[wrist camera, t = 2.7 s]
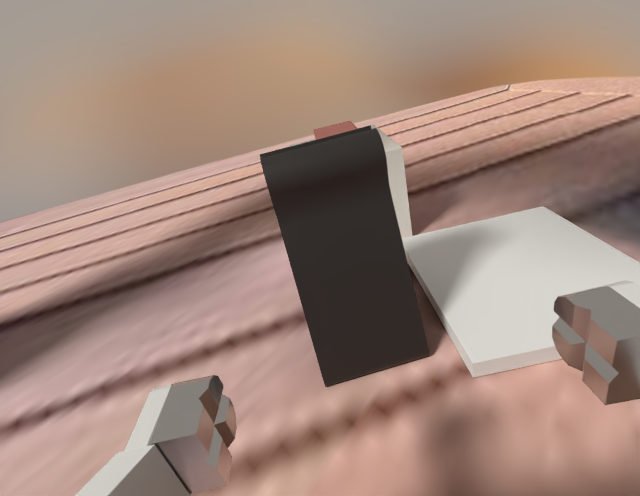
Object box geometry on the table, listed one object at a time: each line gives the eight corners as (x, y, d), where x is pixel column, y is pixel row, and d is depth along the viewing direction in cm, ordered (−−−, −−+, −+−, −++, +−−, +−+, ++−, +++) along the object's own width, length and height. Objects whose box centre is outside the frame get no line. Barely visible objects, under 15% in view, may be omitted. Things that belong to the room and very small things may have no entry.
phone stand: (430, 359, 20) (406, 142, 15) (325, 389, 20) (260, 181, 14) (380, 276, 28) (352, 116, 23) (304, 297, 28) (258, 140, 22)
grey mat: (473, 377, 18) (472, 363, 18) (400, 249, 31) (398, 239, 30) (715, 326, 18) (721, 310, 18) (542, 217, 30) (543, 206, 30)
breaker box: (312, 260, 32) (289, 174, 29) (307, 213, 42) (290, 145, 39) (412, 237, 32) (402, 147, 28) (384, 195, 42) (374, 124, 38)
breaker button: (324, 174, 32) (316, 139, 31) (320, 160, 36) (313, 129, 35) (364, 164, 32) (358, 129, 31) (355, 151, 36) (350, 120, 35)
